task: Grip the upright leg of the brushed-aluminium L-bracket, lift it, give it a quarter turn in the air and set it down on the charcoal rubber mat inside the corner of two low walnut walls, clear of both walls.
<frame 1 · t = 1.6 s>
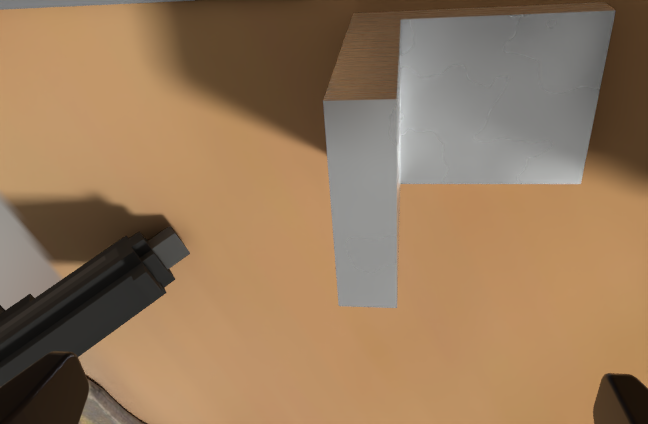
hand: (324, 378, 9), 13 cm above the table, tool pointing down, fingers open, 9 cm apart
bracket: (468, 94, 20), on the table
toy gun: (75, 273, 28), on the table
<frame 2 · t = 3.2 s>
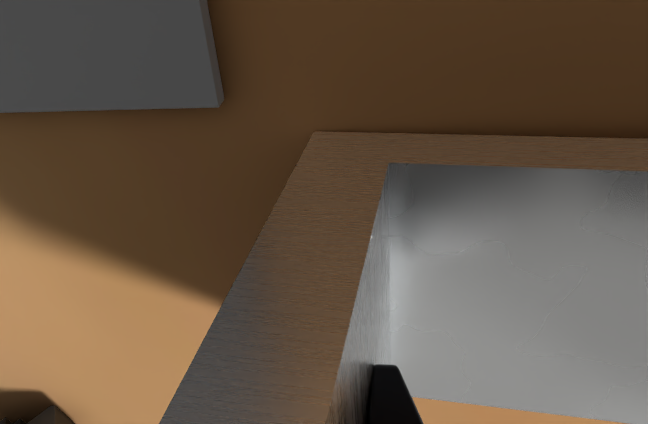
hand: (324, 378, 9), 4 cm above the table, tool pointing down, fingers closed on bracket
bracket: (511, 266, 12), on the table, tilted 5°, touching gripper
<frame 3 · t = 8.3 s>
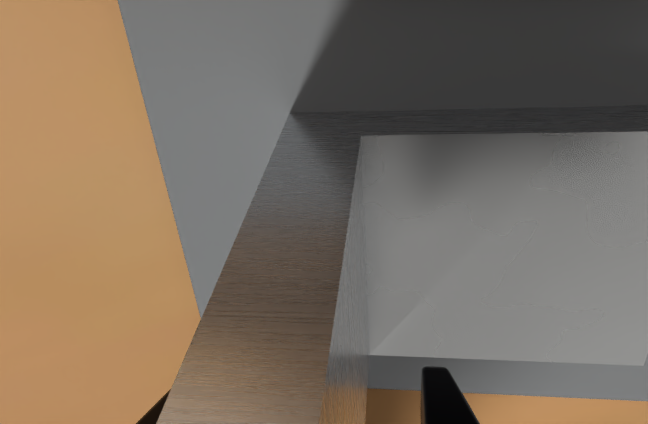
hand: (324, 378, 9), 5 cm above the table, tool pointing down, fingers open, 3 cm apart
bracket: (471, 229, 13), resting on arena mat
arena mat: (475, 216, 13), on the table
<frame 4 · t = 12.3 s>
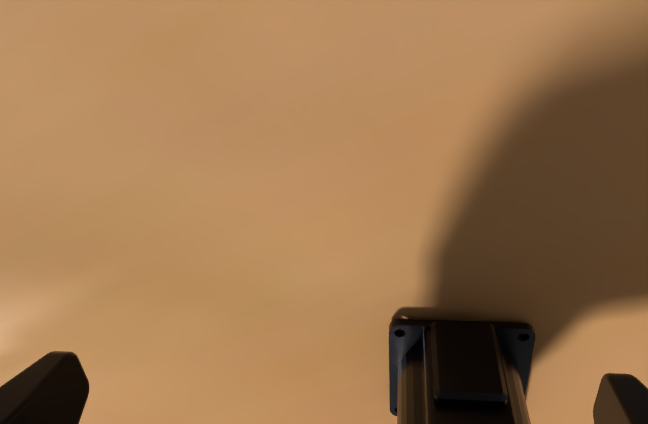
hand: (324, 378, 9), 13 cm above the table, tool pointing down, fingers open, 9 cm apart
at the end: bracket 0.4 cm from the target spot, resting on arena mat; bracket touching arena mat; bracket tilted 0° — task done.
